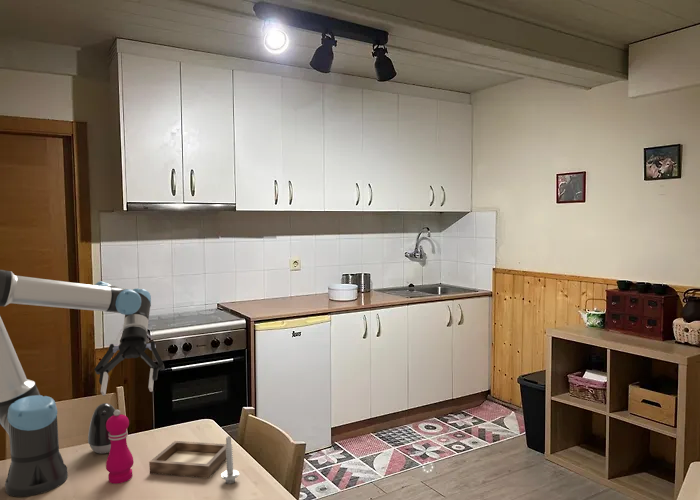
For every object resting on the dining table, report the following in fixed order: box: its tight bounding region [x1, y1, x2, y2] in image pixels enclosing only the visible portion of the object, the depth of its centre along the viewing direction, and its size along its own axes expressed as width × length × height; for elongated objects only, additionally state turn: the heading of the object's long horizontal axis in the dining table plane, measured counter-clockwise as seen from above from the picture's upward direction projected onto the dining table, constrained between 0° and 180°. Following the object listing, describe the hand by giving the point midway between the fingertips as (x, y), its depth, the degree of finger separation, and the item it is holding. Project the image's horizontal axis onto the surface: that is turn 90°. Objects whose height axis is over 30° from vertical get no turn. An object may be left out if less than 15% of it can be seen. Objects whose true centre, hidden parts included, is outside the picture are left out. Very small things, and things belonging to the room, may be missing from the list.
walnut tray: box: [148, 440, 227, 479], centre depth 160 cm, size 18×14×4 cm
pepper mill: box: [105, 409, 134, 485], centre depth 151 cm, size 7×7×20 cm
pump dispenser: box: [87, 402, 116, 455], centre depth 170 cm, size 10×10×15 cm
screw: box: [220, 436, 240, 485], centre depth 148 cm, size 13×5×5 cm
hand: (126, 391), depth 161 cm, fingers open, 13 cm apart
